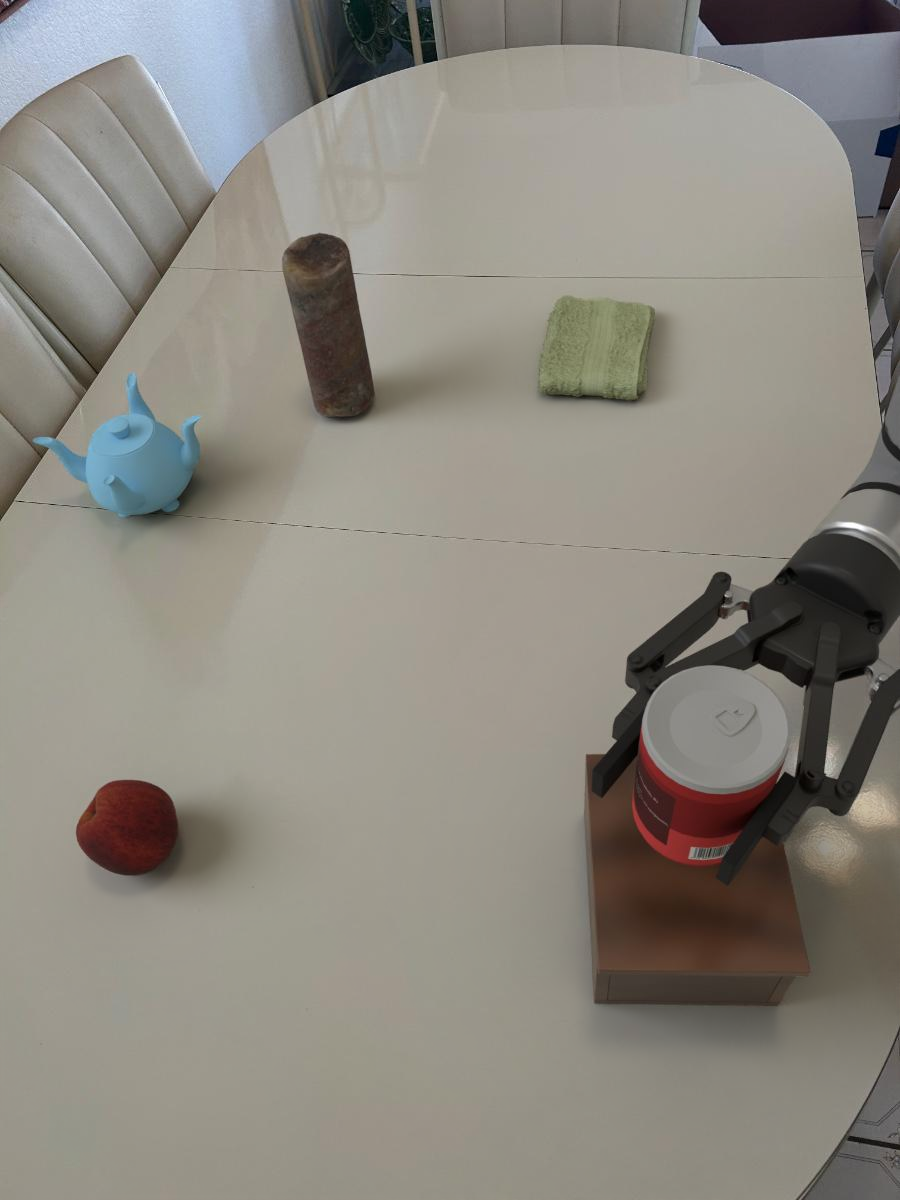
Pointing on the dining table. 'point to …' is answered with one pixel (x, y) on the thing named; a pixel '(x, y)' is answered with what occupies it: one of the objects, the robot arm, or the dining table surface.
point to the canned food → (706, 761)
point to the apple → (128, 827)
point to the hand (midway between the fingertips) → (659, 826)
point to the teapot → (134, 460)
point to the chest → (676, 986)
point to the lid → (685, 903)
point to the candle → (329, 324)
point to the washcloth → (596, 348)
